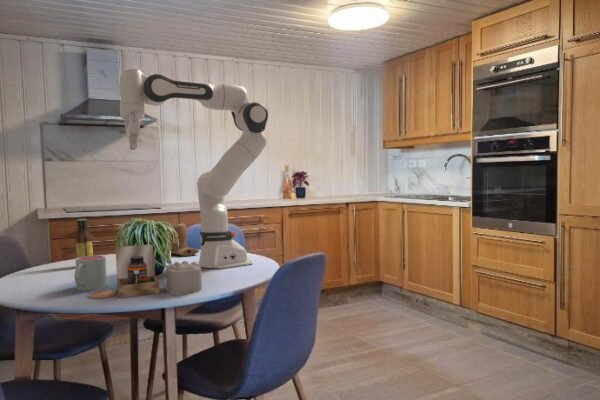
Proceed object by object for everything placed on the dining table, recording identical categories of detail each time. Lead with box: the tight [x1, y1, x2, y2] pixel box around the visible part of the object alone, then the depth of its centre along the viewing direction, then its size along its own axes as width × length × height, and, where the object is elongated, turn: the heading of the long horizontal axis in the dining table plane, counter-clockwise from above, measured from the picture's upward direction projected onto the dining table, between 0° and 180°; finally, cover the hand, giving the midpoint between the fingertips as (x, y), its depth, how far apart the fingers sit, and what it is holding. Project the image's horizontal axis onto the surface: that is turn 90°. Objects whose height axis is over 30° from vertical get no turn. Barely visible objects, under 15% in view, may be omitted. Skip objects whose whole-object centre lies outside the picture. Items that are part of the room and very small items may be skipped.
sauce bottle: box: [74, 218, 94, 258], centre depth 194 cm, size 7×6×20 cm
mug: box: [74, 255, 107, 292], centre depth 154 cm, size 14×9×10 cm
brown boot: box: [170, 222, 200, 257], centre depth 219 cm, size 15×12×15 cm
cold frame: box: [115, 244, 160, 298], centre depth 152 cm, size 12×16×14 cm
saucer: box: [89, 289, 117, 300], centre depth 145 cm, size 8×8×1 cm
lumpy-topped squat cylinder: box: [165, 260, 203, 295], centre depth 153 cm, size 10×13×9 cm
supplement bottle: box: [128, 256, 147, 285], centre depth 150 cm, size 6×6×11 cm
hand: (133, 148), depth 178 cm, fingers open, 8 cm apart
